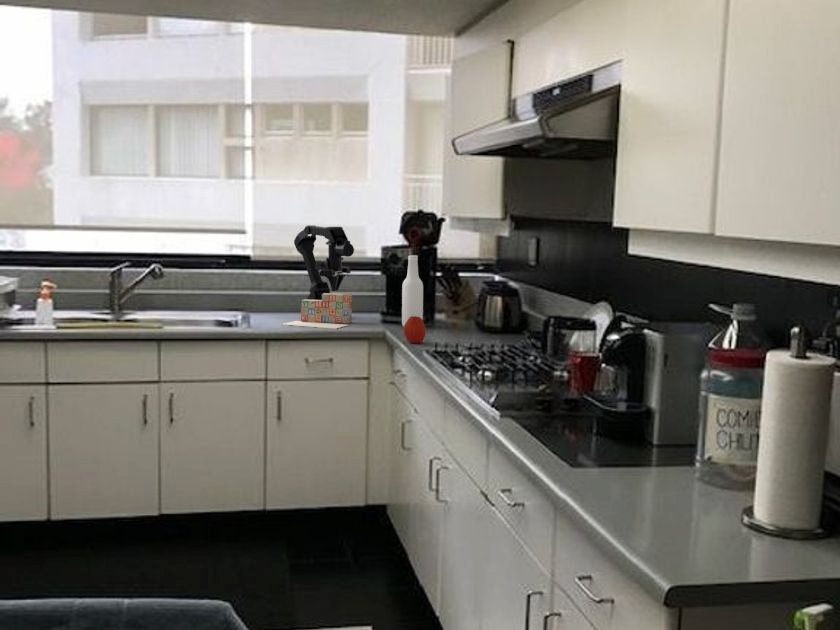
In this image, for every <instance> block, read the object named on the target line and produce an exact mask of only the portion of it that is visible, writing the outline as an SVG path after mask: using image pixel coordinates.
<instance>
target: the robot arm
mask: <svg viewBox="0 0 840 630" xmlns="http://www.w3.org/2000/svg"><path fill="white" fill-rule="evenodd" d="M317 236H321V237H324V238H325V239H326V240H327V241H326V242H325V245H328V257H327V258H325V261H323V262H322V261H321V260H318V261H316V258H315V254H314V250H315V242H316V240H317ZM293 244H294V246H295V249H296V251H297V252H298V253H299V254H300V255H301V256H302V258H303V259H302V260H303V261H304V264H305V268H306V272H307V274H308V275H307V276H308V278H309V280H310V284H311V285H310V288H309V295H308V296H307V298H306V299H308V300H322V294H324V293H331V292H330V291H332V292H337V291H339V289H340V287H341V285H342V282H343V281H344V279H345V277H346V274H351V268H350V267H349V266H342V263H343V262H342V261H343V260H344V257H346V258H348V257H352V256H353V255H354V252H355V248H354V245H353V244H352V243H351V241H350V240H348V237H347V235H346V233H345V230H344V229H343V227H342V226H325V227H324V226H319V225H309V224H308V225H306V226H305V227H304V229H302V230H301V231H300V232H299V233H297V235H296V236H295V238H294V240H293ZM322 277H325V278H326V279H328V282H329V283H328V282H327V281H323V279H322ZM329 284H330V288H329Z"/></svg>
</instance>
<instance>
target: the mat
mask: <svg viewBox="0 0 840 630" xmlns="http://www.w3.org/2000/svg"><path fill="white" fill-rule="evenodd" d="M282 324H283V325H282V326H286V325H294V326H293V327H299V326H305V327H304V328H313V327H317V328H316V329H326V328H327V330H328V329H329V330H338V329H342V328H345V327H348V326H349V324H347V323H329V322H307V321H301V320H294V321H288V322H284V323H282ZM341 327H342V328H341ZM337 328H338V329H337Z"/></svg>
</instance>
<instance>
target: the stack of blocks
mask: <svg viewBox="0 0 840 630" xmlns="http://www.w3.org/2000/svg"><path fill="white" fill-rule="evenodd" d="M352 311H353V294H347V293H331V292H330V293H324V294H322V300H308V299H307V298H306V299H301V302H300V321H304V322H318V323H332V324H351V323H352V320H353V319H352V316H353V312H352Z"/></svg>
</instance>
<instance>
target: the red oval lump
mask: <svg viewBox="0 0 840 630" xmlns="http://www.w3.org/2000/svg"><path fill="white" fill-rule="evenodd" d="M423 320H424V319H423ZM423 320H422V319H421V318H420V317H417V316H411V317H410V318H409V319H408V320H407V322H406V323H405V326H404V327H403V330H402V331H403V335H404V337H405V339H406V341H407V342H409V343H413V344H421V343H423V341H424V339H425V337H426V324H425V323H424V321H423Z"/></svg>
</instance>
